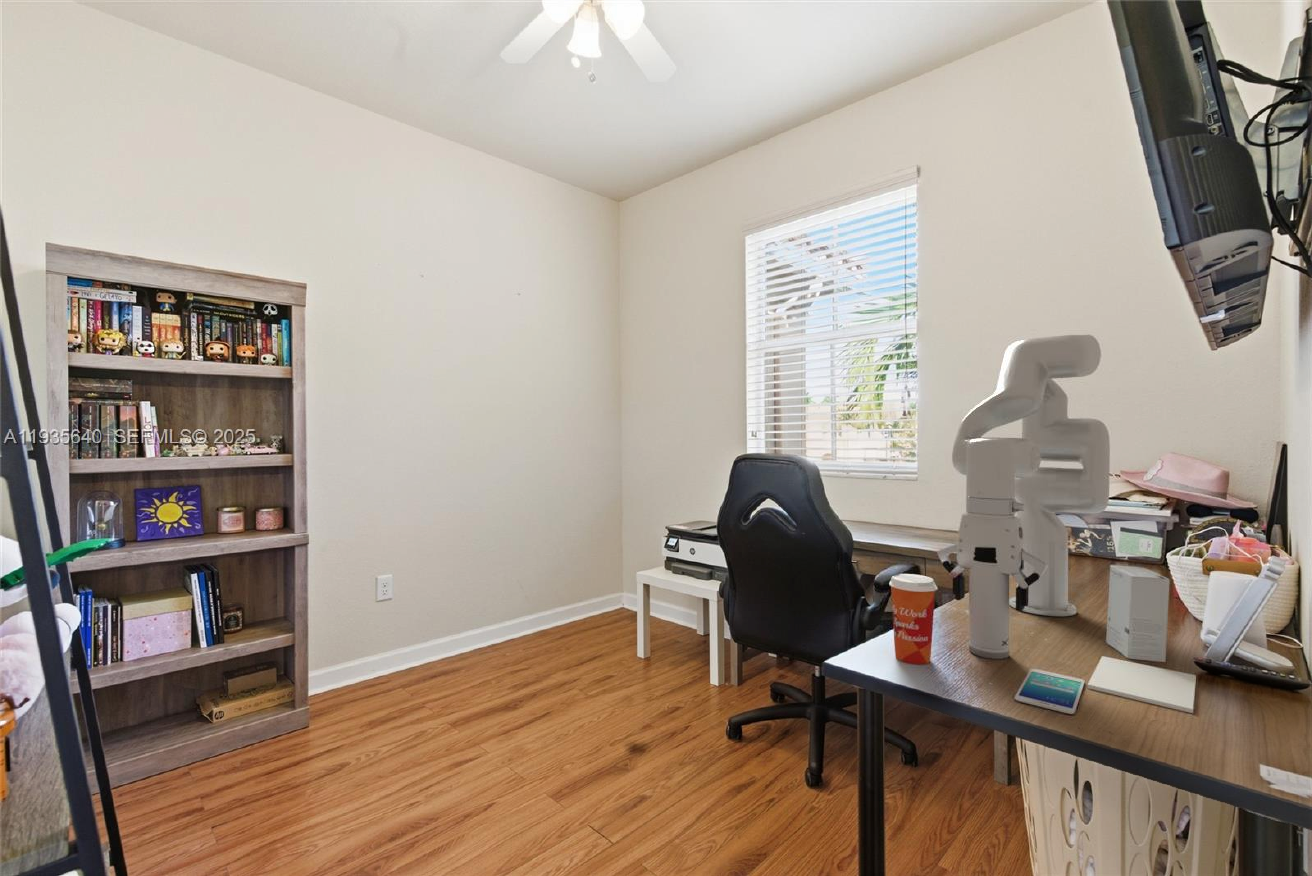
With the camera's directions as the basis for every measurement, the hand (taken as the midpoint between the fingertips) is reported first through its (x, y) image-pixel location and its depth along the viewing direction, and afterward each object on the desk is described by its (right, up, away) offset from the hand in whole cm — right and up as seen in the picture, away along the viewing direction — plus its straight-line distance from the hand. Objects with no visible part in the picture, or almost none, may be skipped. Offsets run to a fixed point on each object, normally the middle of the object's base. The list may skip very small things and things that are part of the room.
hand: (989, 604), depth 105 cm
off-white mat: (+17, -9, -13) cm, 23 cm away
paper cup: (-14, -9, -2) cm, 17 cm away
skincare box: (+26, -9, 0) cm, 28 cm away
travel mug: (0, -9, 0) cm, 9 cm away
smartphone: (+1, -10, -15) cm, 18 cm away
